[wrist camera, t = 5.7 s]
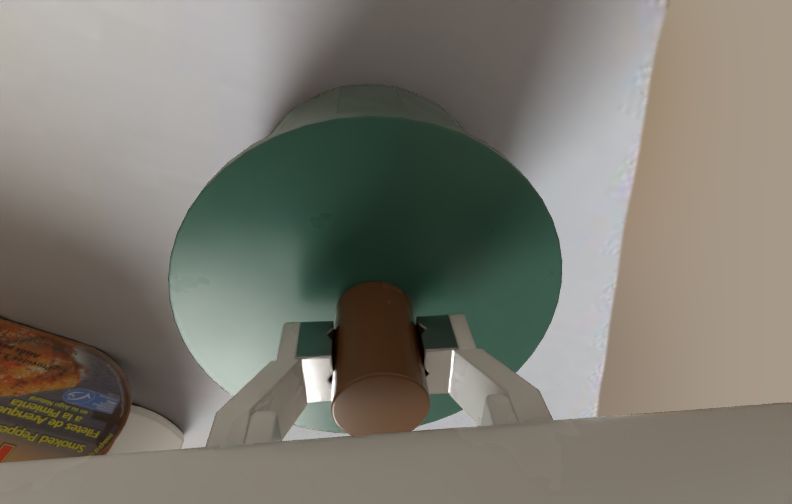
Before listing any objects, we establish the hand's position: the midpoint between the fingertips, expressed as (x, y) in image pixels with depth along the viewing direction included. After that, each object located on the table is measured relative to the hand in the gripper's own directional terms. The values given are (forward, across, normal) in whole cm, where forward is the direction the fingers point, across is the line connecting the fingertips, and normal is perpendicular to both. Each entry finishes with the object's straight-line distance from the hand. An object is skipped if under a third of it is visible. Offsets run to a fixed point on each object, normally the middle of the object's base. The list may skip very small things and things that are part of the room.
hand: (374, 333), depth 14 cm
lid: (+2, 0, 0) cm, 2 cm away
